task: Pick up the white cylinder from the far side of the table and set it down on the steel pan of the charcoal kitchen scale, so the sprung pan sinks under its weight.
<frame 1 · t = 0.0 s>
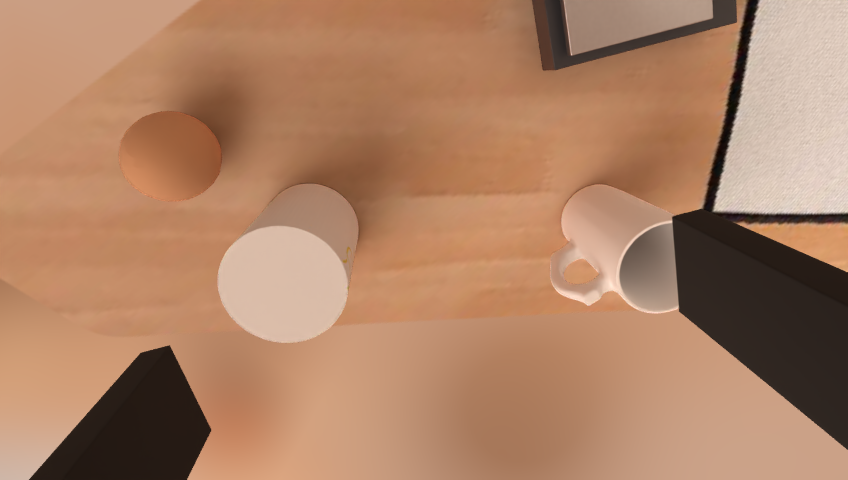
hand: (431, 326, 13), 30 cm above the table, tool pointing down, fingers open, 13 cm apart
mug: (577, 226, 44), on the table
white cylinder: (311, 228, 43), on the table
egg: (194, 148, 40), on the table
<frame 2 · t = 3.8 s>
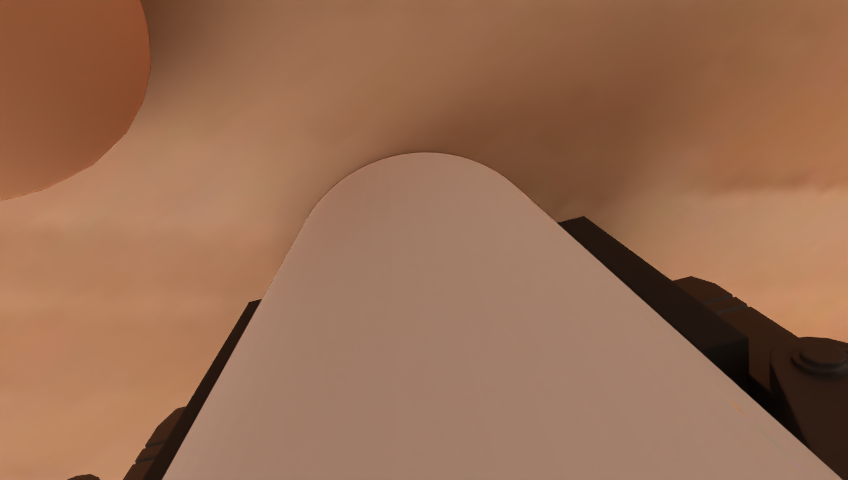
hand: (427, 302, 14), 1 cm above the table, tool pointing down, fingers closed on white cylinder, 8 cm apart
white cylinder: (423, 281, 15), on the table, touching gripper
egg: (73, 37, 12), on the table
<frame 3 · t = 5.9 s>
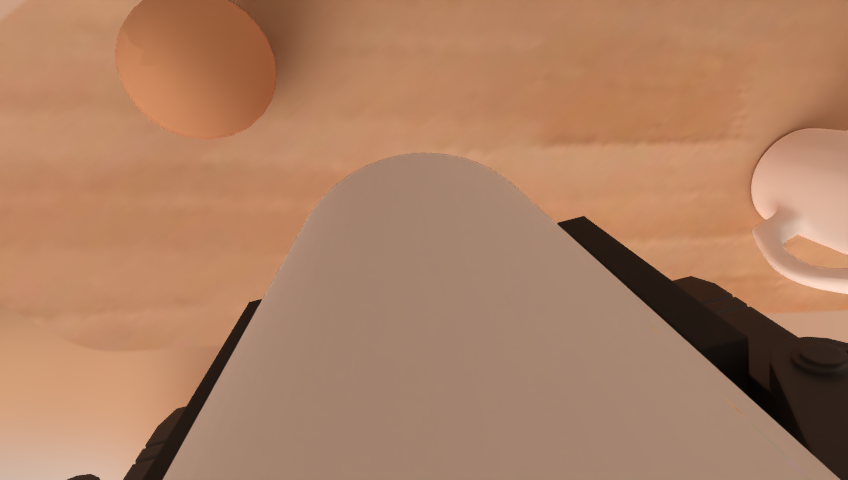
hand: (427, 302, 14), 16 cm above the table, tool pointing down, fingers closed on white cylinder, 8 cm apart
mug: (770, 190, 31), on the table
white cylinder: (423, 281, 15), point 14 cm above the table, touching gripper
egg: (229, 68, 26), on the table
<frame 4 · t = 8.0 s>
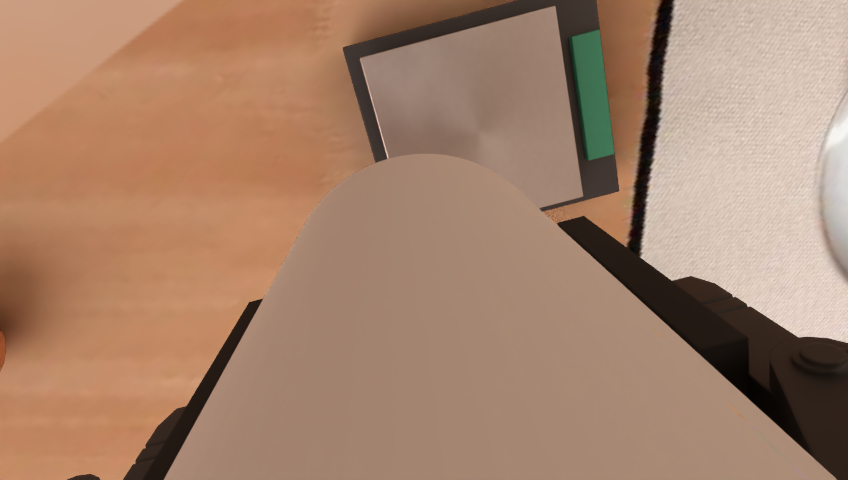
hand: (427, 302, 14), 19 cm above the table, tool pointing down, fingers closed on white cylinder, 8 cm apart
scale pan: (477, 130, 27), point 4 cm above the table, slide at 0.0 cm
white cylinder: (423, 282, 15), point 17 cm above the table, touching gripper
scale: (480, 119, 31), on the table
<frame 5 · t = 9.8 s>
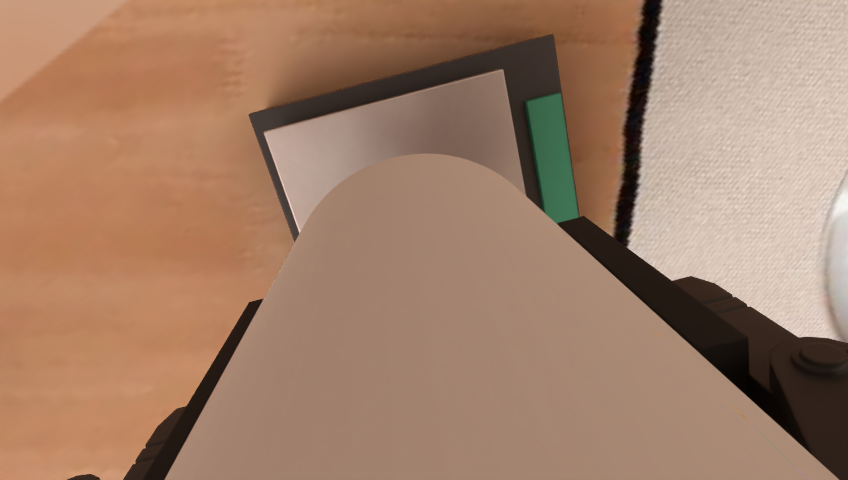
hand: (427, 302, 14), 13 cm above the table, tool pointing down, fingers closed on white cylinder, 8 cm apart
scale pan: (413, 213, 22), point 4 cm above the table, slide at 0.0 cm
white cylinder: (424, 282, 15), point 12 cm above the table, touching gripper
scale: (427, 187, 26), on the table
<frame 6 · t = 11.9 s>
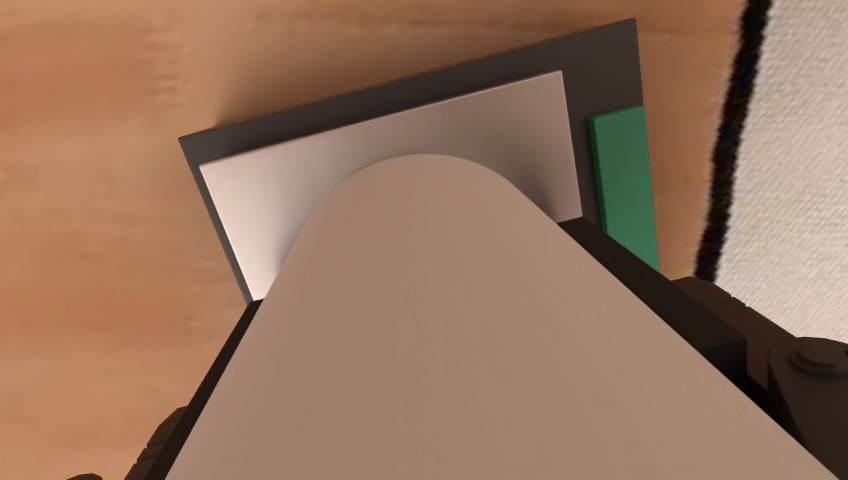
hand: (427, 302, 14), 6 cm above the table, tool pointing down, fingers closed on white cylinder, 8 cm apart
scale pan: (423, 279, 15), point 4 cm above the table, slide at -0.3 cm, touching white cylinder
white cylinder: (424, 282, 15), point 4 cm above the table, touching gripper, scale pan
scale: (441, 233, 19), on the table
when the fingers open (6 cm above the table, at t = 12.0 s): white cylinder stays where it is, resting on scale pan.
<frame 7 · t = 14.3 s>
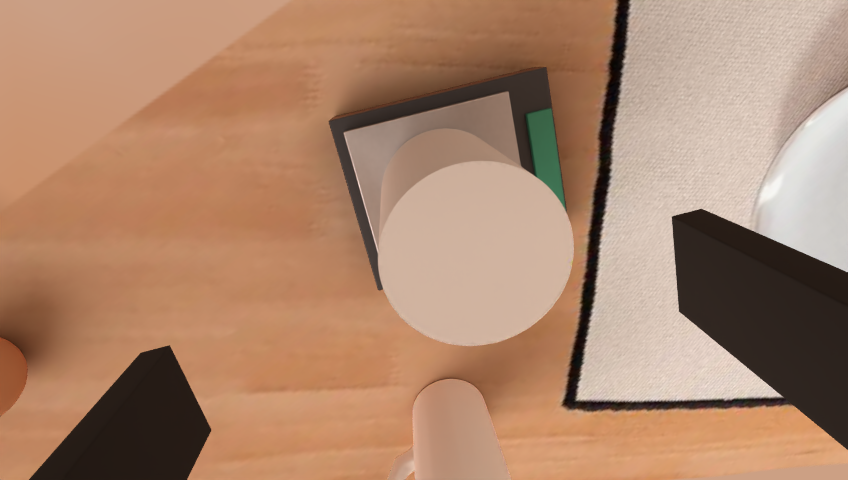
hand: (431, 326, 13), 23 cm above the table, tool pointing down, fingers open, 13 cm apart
mug: (432, 416, 42), on the table
scale pan: (443, 191, 32), point 4 cm above the table, slide at -0.7 cm, touching white cylinder
white cylinder: (444, 191, 32), point 4 cm above the table, touching scale pan
egg: (6, 352, 37), on the table
scale: (451, 176, 35), on the table
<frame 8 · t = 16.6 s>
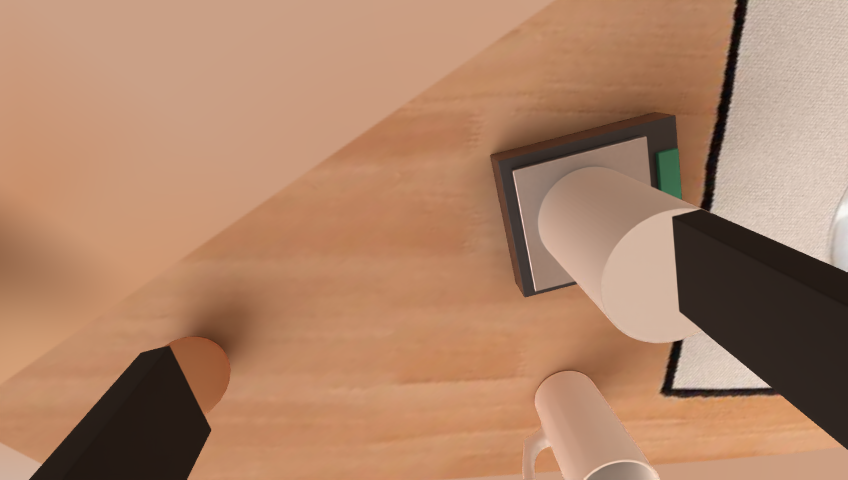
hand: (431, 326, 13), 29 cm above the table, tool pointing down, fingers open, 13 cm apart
mug: (549, 402, 49), on the table
scale pan: (586, 216, 39), point 4 cm above the table, slide at -0.7 cm, touching white cylinder
white cylinder: (587, 217, 39), point 4 cm above the table, touching scale pan
egg: (205, 351, 44), on the table
scale: (582, 201, 42), on the table
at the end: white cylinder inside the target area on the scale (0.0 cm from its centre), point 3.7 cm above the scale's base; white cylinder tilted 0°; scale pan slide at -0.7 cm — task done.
